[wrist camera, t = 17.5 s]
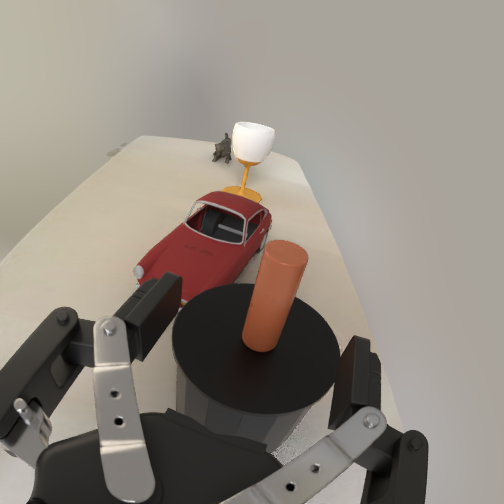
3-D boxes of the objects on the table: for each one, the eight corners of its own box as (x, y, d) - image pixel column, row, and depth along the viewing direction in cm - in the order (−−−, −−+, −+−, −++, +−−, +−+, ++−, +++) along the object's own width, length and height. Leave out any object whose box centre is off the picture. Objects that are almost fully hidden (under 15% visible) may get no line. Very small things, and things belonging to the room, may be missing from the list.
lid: (350, 420, 18) (418, 337, 14) (159, 411, 17) (154, 314, 12) (319, 301, 29) (351, 219, 24) (183, 284, 27) (192, 192, 22)
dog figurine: (214, 153, 95) (217, 130, 91) (232, 156, 95) (236, 133, 91) (207, 164, 85) (211, 138, 81) (228, 168, 85) (233, 142, 81)
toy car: (129, 298, 38) (126, 229, 32) (214, 221, 58) (222, 170, 53) (206, 335, 35) (216, 265, 30) (270, 241, 56) (283, 189, 51)
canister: (298, 461, 24) (346, 410, 18) (171, 454, 23) (169, 400, 17) (286, 367, 34) (317, 299, 28) (183, 357, 32) (188, 282, 26)
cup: (217, 198, 67) (230, 125, 58) (225, 184, 75) (237, 119, 66) (259, 207, 67) (276, 135, 58) (262, 192, 75) (277, 127, 66)
